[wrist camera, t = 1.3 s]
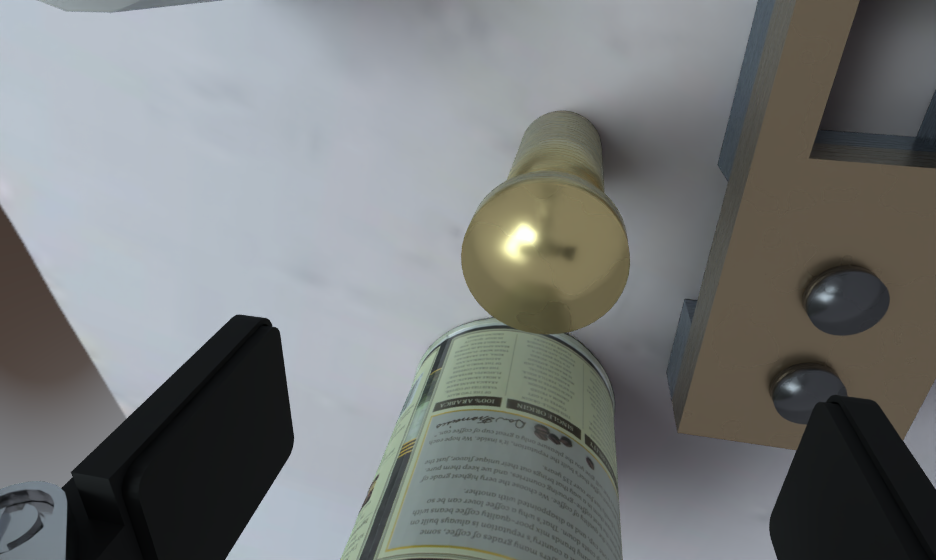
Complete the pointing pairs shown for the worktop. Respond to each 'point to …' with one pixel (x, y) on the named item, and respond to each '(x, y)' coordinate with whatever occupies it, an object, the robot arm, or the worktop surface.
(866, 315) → the peg hole board
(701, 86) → the worktop surface
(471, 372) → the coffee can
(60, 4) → the can
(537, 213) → the pin
